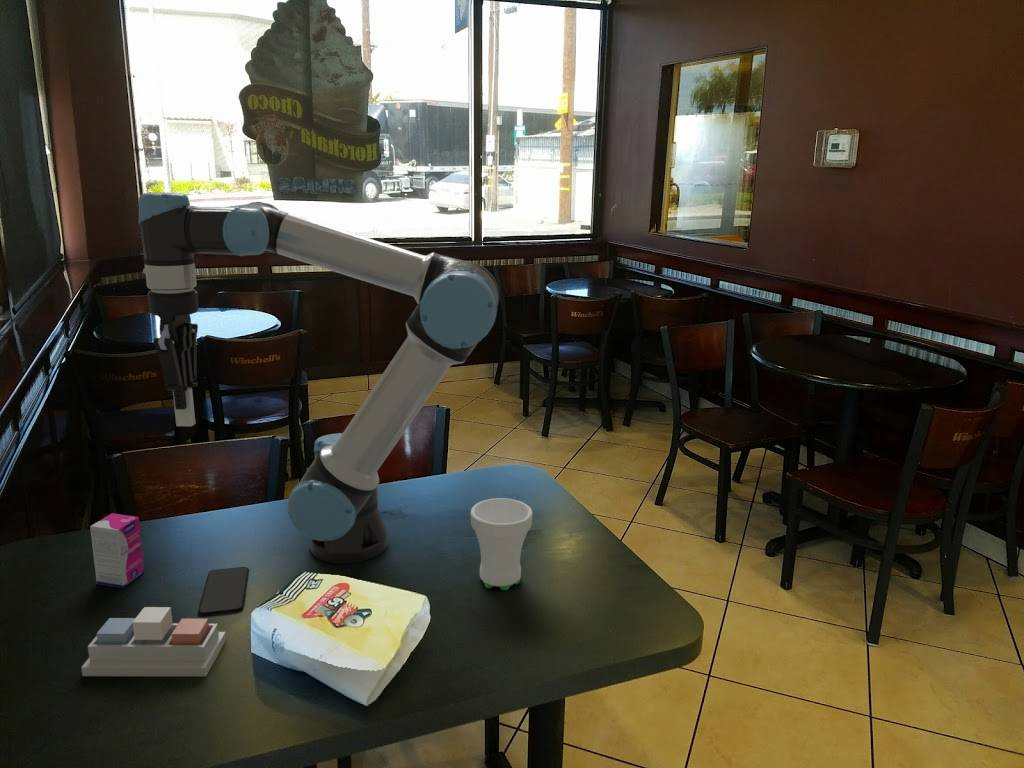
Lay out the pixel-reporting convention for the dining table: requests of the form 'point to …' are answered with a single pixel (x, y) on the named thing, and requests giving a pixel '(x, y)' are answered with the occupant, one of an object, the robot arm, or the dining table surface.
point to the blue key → (116, 631)
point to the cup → (501, 539)
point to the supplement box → (117, 550)
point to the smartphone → (224, 591)
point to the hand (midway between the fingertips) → (185, 424)
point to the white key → (152, 623)
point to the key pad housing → (154, 657)
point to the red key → (190, 632)
